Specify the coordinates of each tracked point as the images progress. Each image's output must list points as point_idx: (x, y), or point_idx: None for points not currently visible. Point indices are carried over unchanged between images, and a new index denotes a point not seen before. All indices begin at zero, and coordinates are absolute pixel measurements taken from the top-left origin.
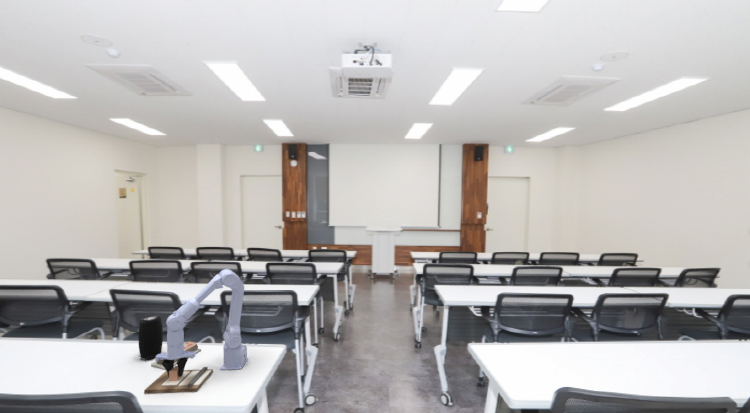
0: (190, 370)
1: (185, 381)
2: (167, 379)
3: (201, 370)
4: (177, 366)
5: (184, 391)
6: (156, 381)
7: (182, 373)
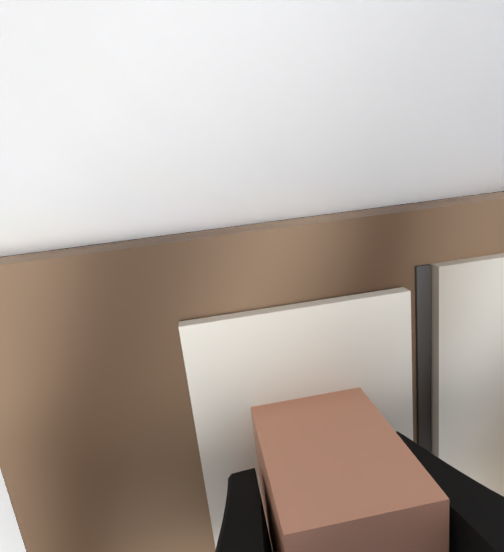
0: (379, 233)
1: None
2: (211, 508)
3: None
4: (356, 546)
5: None
6: (61, 533)
7: None
